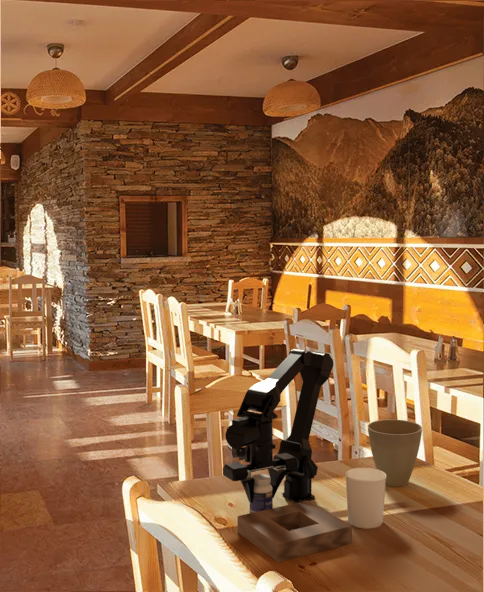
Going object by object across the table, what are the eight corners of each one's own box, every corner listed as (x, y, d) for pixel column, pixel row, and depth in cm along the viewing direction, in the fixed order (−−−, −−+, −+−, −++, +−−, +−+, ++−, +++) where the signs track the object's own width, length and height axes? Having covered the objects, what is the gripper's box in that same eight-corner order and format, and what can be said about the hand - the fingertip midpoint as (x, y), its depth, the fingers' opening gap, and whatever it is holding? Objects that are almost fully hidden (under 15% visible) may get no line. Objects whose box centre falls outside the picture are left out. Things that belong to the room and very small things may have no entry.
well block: (308, 515, 195) (308, 500, 194) (352, 542, 179) (352, 525, 178) (237, 532, 185) (237, 516, 184) (277, 562, 169) (277, 544, 169)
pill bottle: (270, 520, 192) (270, 481, 190) (247, 519, 193) (247, 480, 192) (274, 512, 197) (274, 473, 196) (252, 510, 198) (251, 472, 197)
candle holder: (388, 516, 194) (389, 469, 192) (382, 532, 184) (383, 483, 183) (349, 512, 197) (349, 465, 196) (341, 527, 188) (341, 478, 186)
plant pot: (381, 469, 228) (381, 416, 226) (429, 480, 220) (430, 424, 218) (357, 484, 216) (358, 428, 214) (407, 495, 208) (408, 437, 206)
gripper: (276, 425, 204) (276, 483, 206) (212, 436, 195) (212, 496, 197) (299, 436, 195) (299, 497, 196) (233, 448, 186) (234, 511, 187)
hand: (261, 499), depth 195 cm, fingers closed on pill bottle, 6 cm apart
